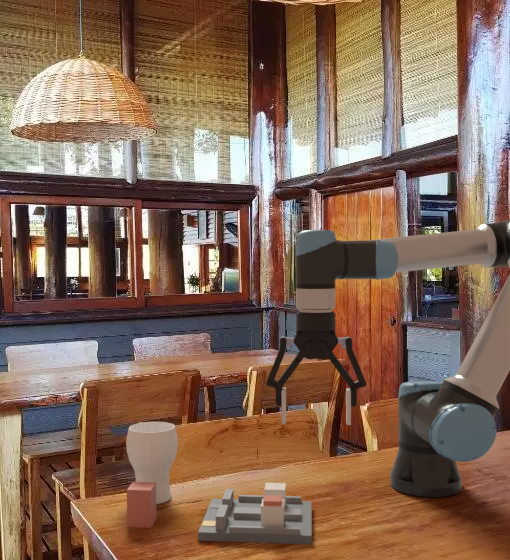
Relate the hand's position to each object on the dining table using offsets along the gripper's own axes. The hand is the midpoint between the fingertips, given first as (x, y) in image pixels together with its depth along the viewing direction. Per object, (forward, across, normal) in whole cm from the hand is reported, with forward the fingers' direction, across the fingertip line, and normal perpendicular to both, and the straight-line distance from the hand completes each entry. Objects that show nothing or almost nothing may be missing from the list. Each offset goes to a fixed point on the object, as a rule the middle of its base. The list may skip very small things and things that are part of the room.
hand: (316, 423), depth 131 cm
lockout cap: (+18, +33, +6) cm, 38 cm away
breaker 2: (+16, +8, +9) cm, 20 cm away
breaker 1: (+16, +8, 0) cm, 18 cm away
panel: (+18, +12, +5) cm, 22 cm away
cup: (+18, +34, -7) cm, 39 cm away
